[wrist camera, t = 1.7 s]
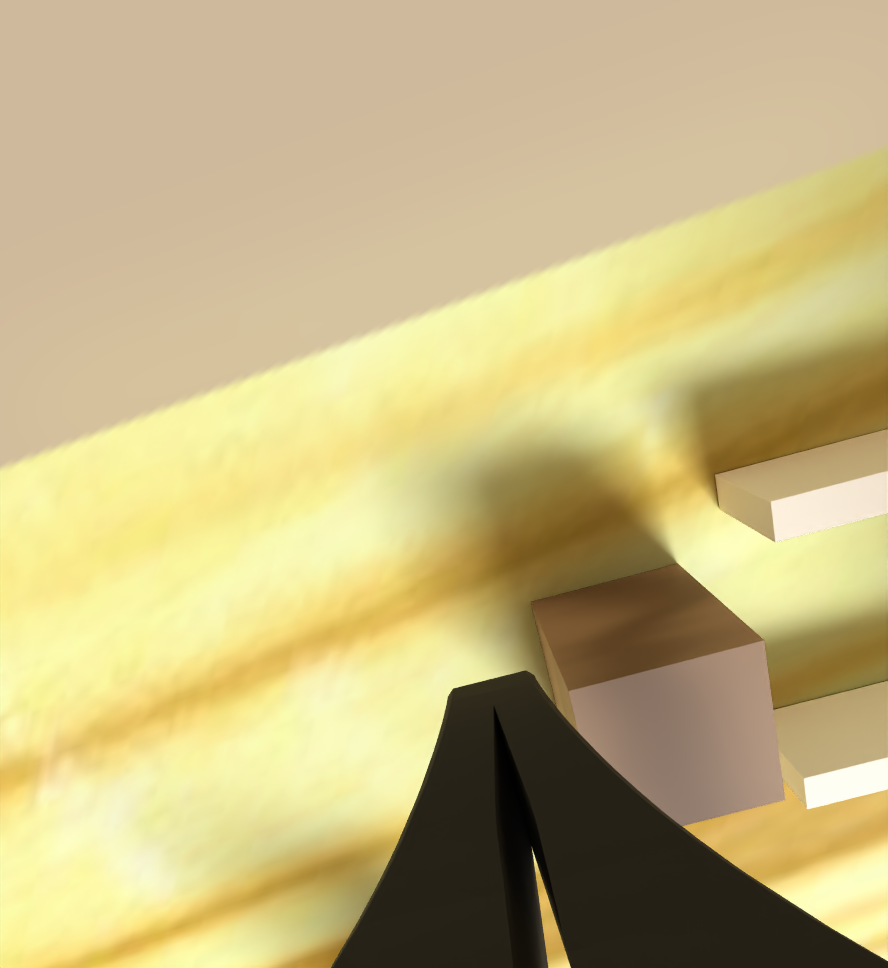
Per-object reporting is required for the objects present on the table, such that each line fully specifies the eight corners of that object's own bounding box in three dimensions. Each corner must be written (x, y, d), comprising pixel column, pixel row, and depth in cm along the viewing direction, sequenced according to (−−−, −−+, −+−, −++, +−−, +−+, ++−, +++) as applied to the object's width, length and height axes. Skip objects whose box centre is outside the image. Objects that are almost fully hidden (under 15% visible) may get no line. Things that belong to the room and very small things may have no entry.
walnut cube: (676, 562, 19) (763, 640, 14) (698, 689, 21) (785, 800, 16) (530, 600, 19) (568, 691, 14) (560, 724, 21) (605, 845, 16)
